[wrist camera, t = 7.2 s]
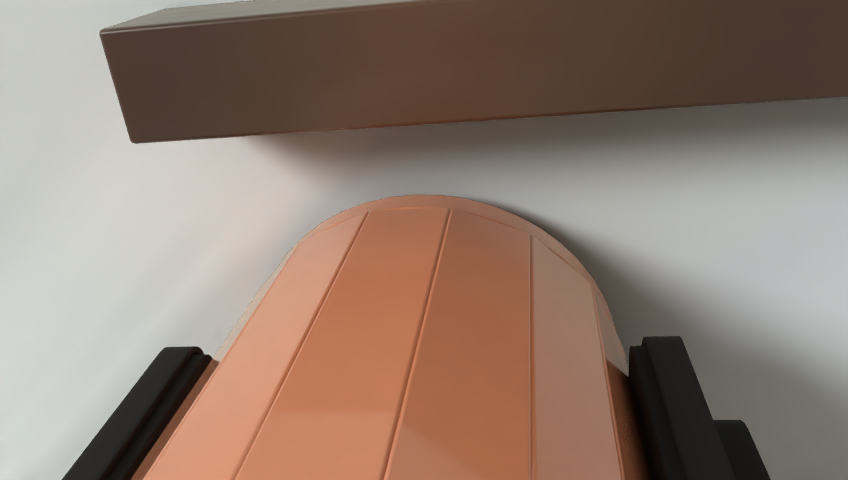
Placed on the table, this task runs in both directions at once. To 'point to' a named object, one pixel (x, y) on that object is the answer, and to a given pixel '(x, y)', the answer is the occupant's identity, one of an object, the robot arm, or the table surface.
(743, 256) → the table surface
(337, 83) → the guide rails
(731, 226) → the table surface
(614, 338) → the peach cup
